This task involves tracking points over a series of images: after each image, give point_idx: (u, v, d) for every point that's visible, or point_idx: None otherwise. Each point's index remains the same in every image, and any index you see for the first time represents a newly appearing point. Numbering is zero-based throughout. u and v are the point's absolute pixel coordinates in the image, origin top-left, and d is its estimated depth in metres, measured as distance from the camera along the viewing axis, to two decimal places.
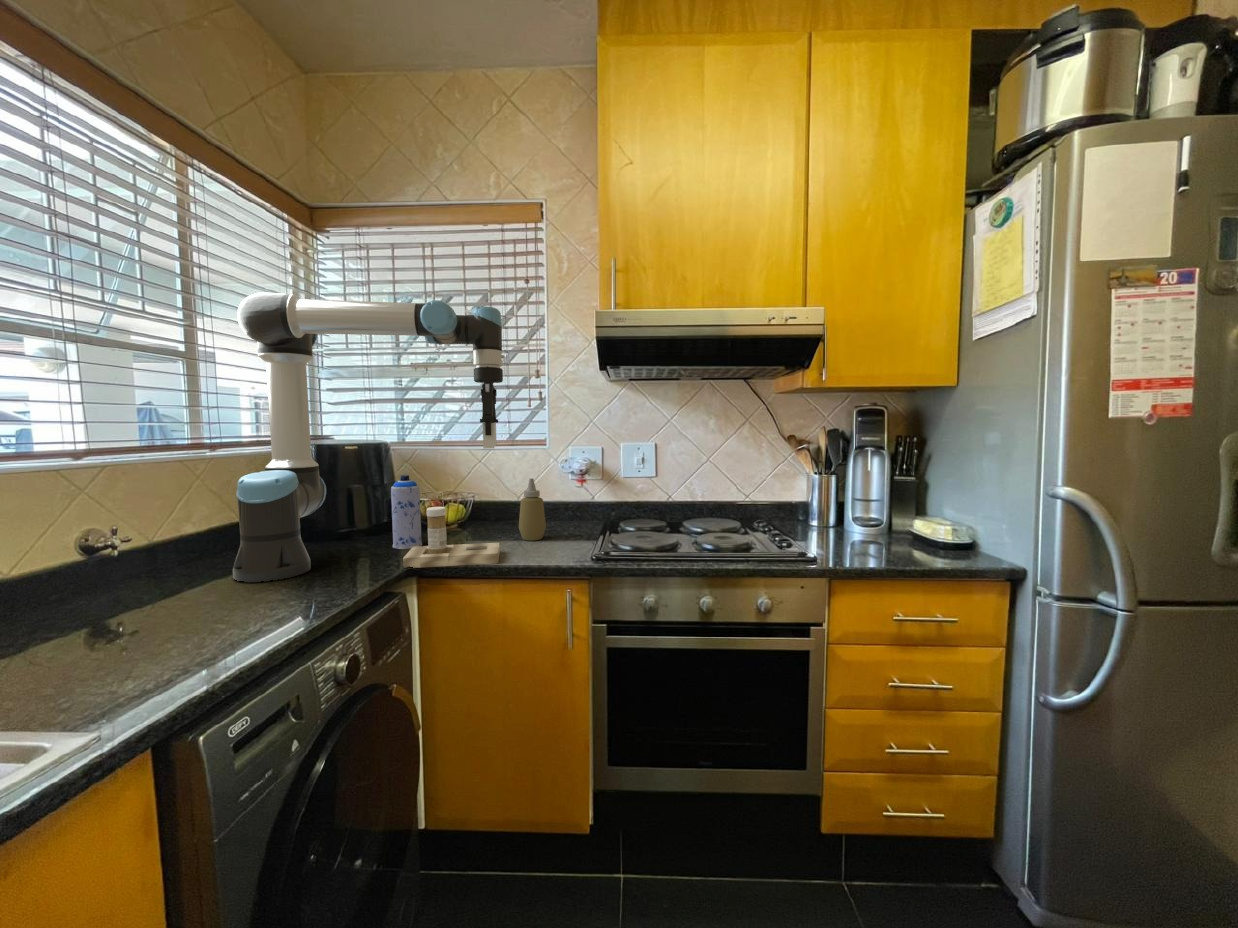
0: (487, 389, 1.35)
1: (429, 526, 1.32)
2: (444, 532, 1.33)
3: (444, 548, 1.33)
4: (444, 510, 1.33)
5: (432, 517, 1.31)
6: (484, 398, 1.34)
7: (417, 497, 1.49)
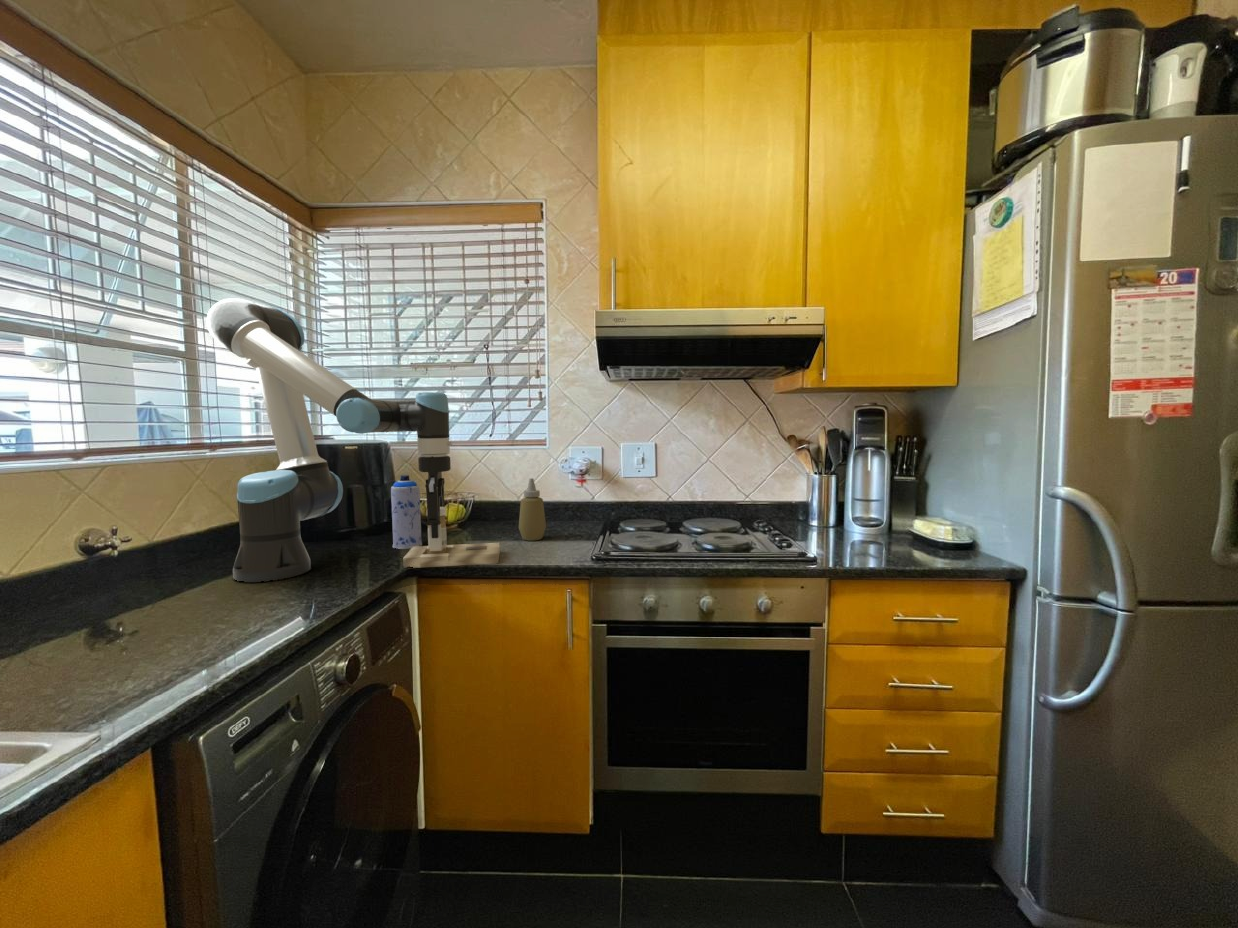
0: (431, 490, 1.26)
1: None
2: (444, 532, 1.33)
3: (444, 548, 1.33)
4: (444, 510, 1.33)
5: None
6: (428, 500, 1.27)
7: (417, 497, 1.49)
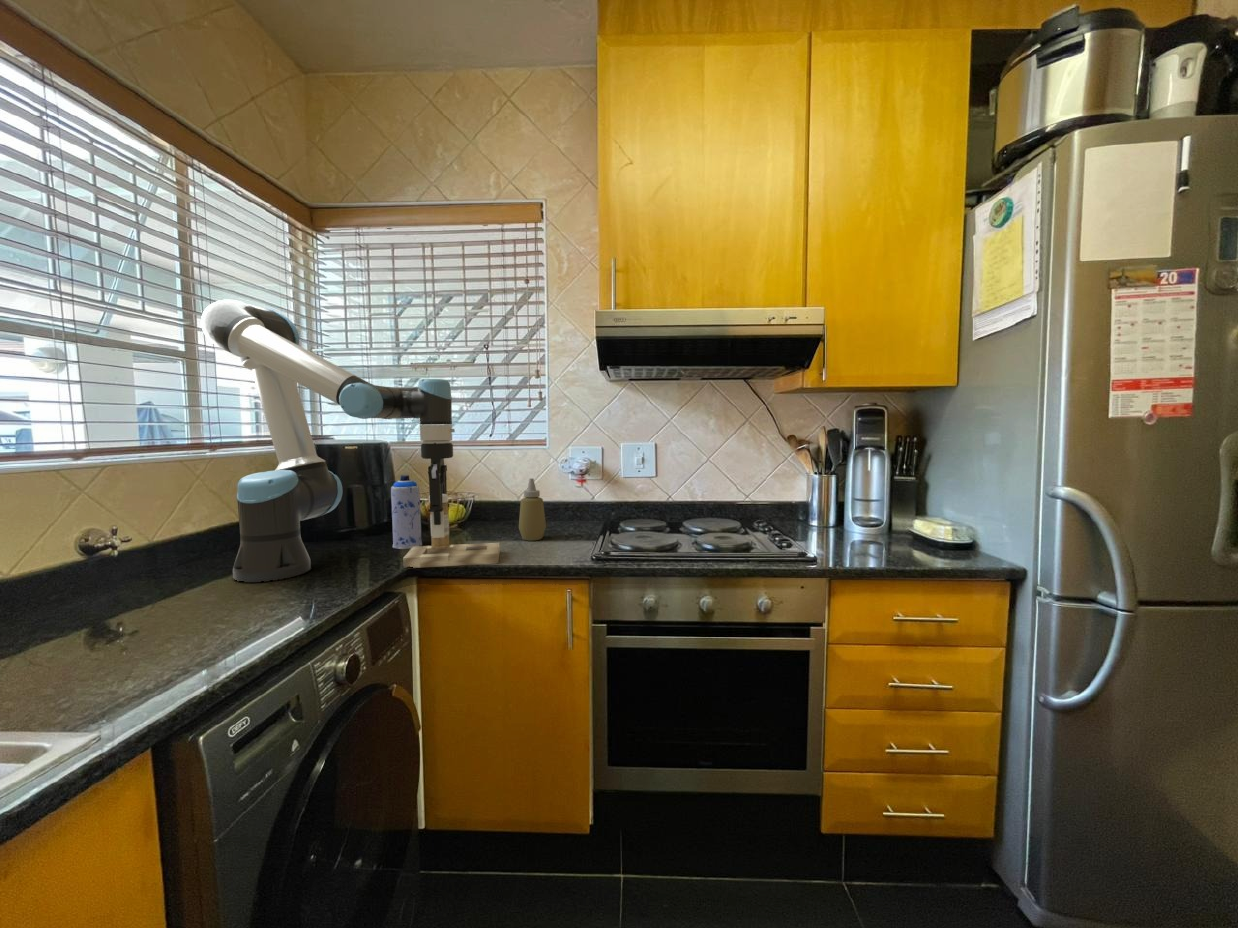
0: (434, 476, 1.26)
1: (431, 513, 1.32)
2: (446, 519, 1.33)
3: (447, 535, 1.33)
4: (446, 497, 1.32)
5: None
6: (431, 487, 1.27)
7: (417, 497, 1.49)
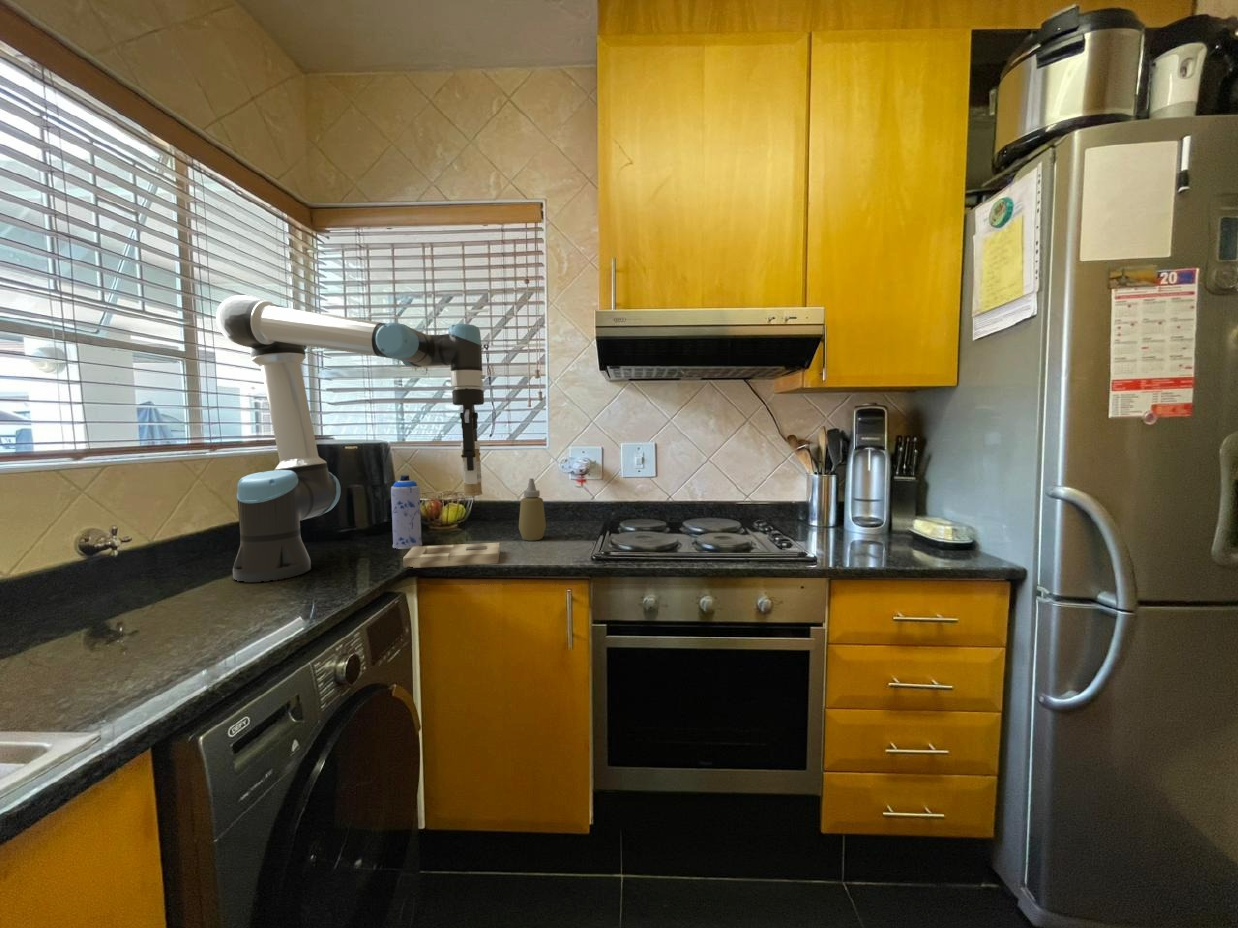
0: (467, 421, 1.26)
1: (464, 460, 1.31)
2: (479, 466, 1.33)
3: (479, 482, 1.33)
4: (478, 444, 1.32)
5: None
6: (464, 431, 1.27)
7: (417, 497, 1.49)
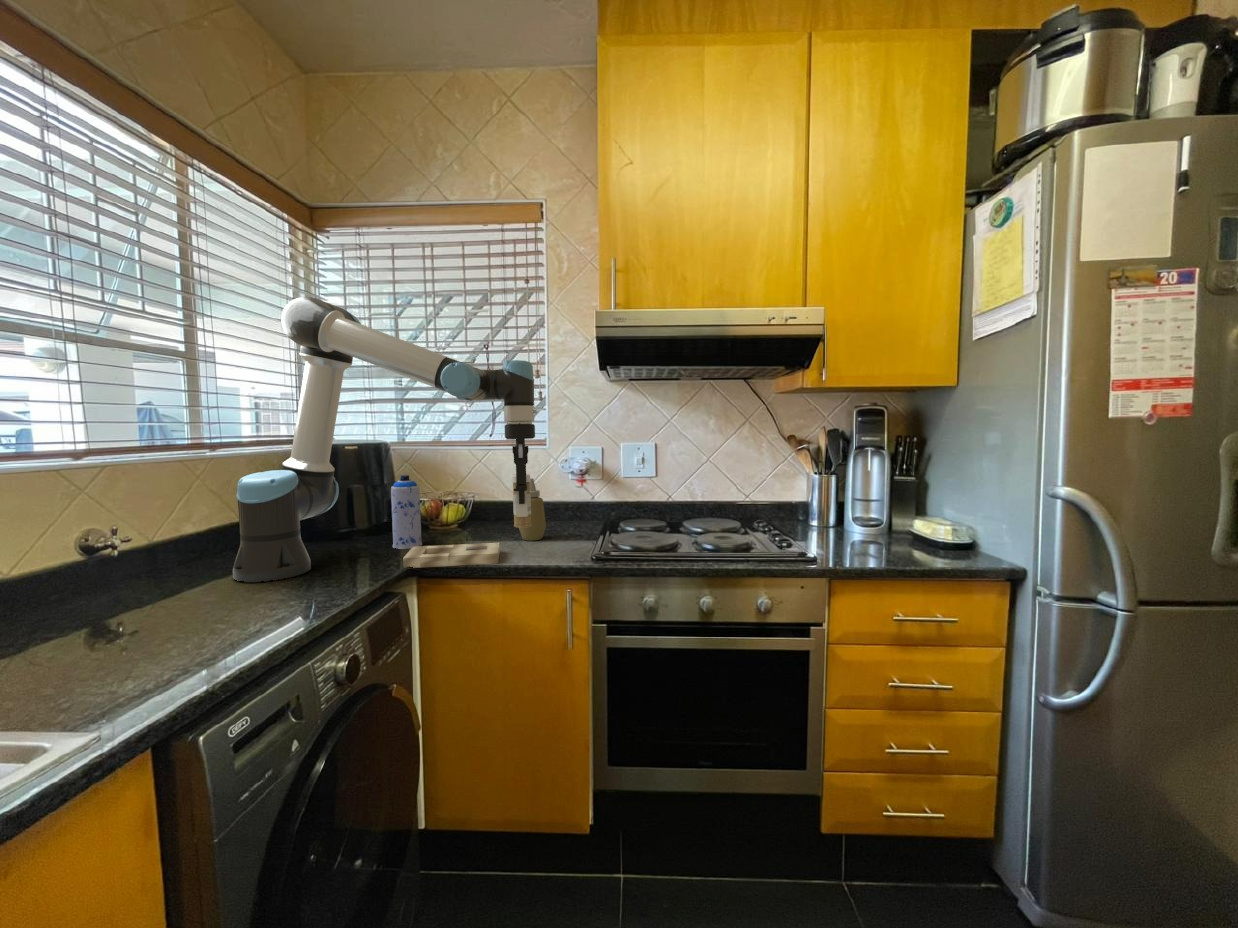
0: (520, 456, 1.29)
1: (515, 492, 1.34)
2: (529, 498, 1.35)
3: (529, 514, 1.35)
4: (529, 477, 1.35)
5: None
6: (517, 466, 1.29)
7: (417, 497, 1.49)
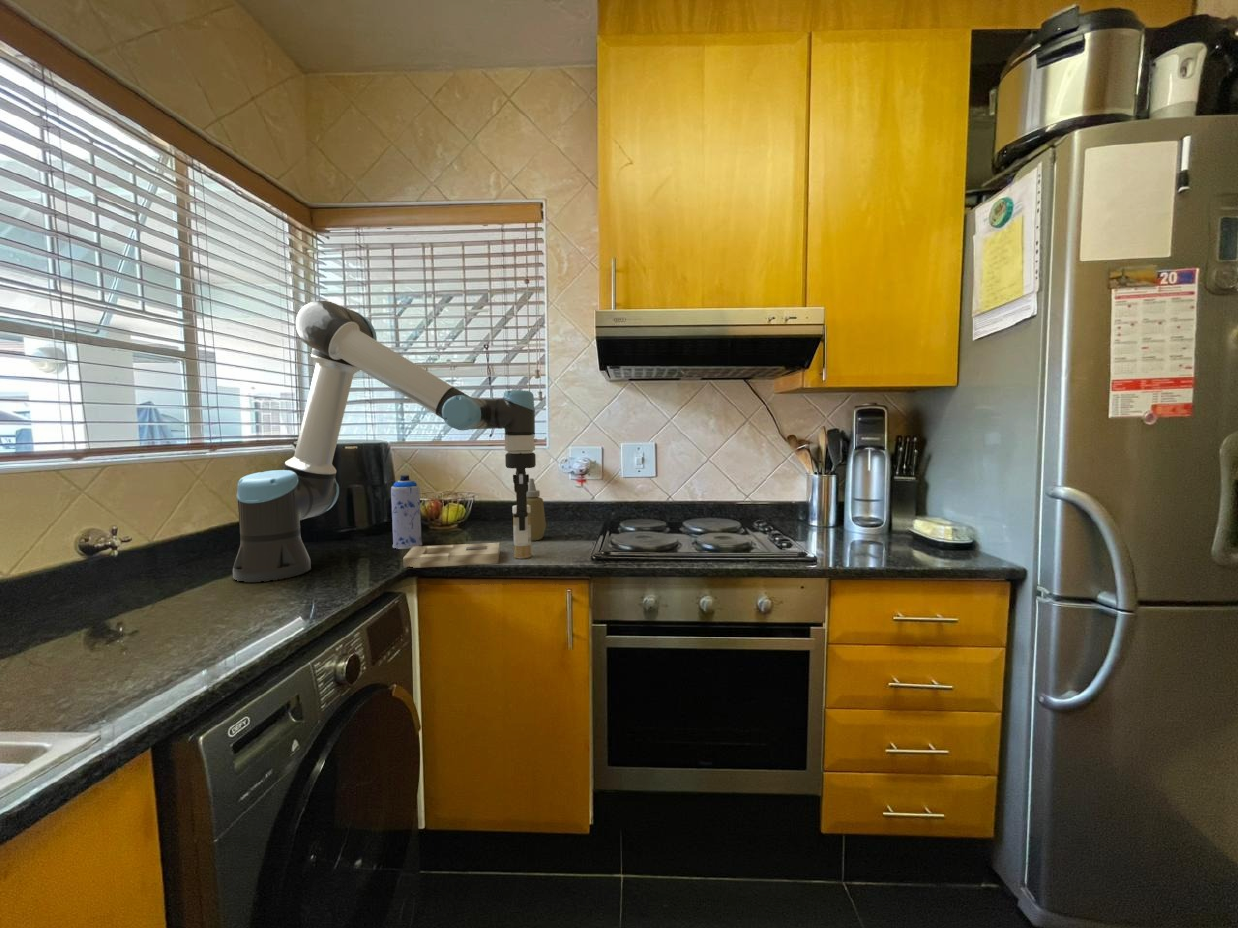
0: (521, 481, 1.29)
1: (515, 523, 1.34)
2: (529, 529, 1.36)
3: (529, 545, 1.36)
4: (529, 507, 1.35)
5: None
6: (518, 491, 1.28)
7: (417, 497, 1.49)
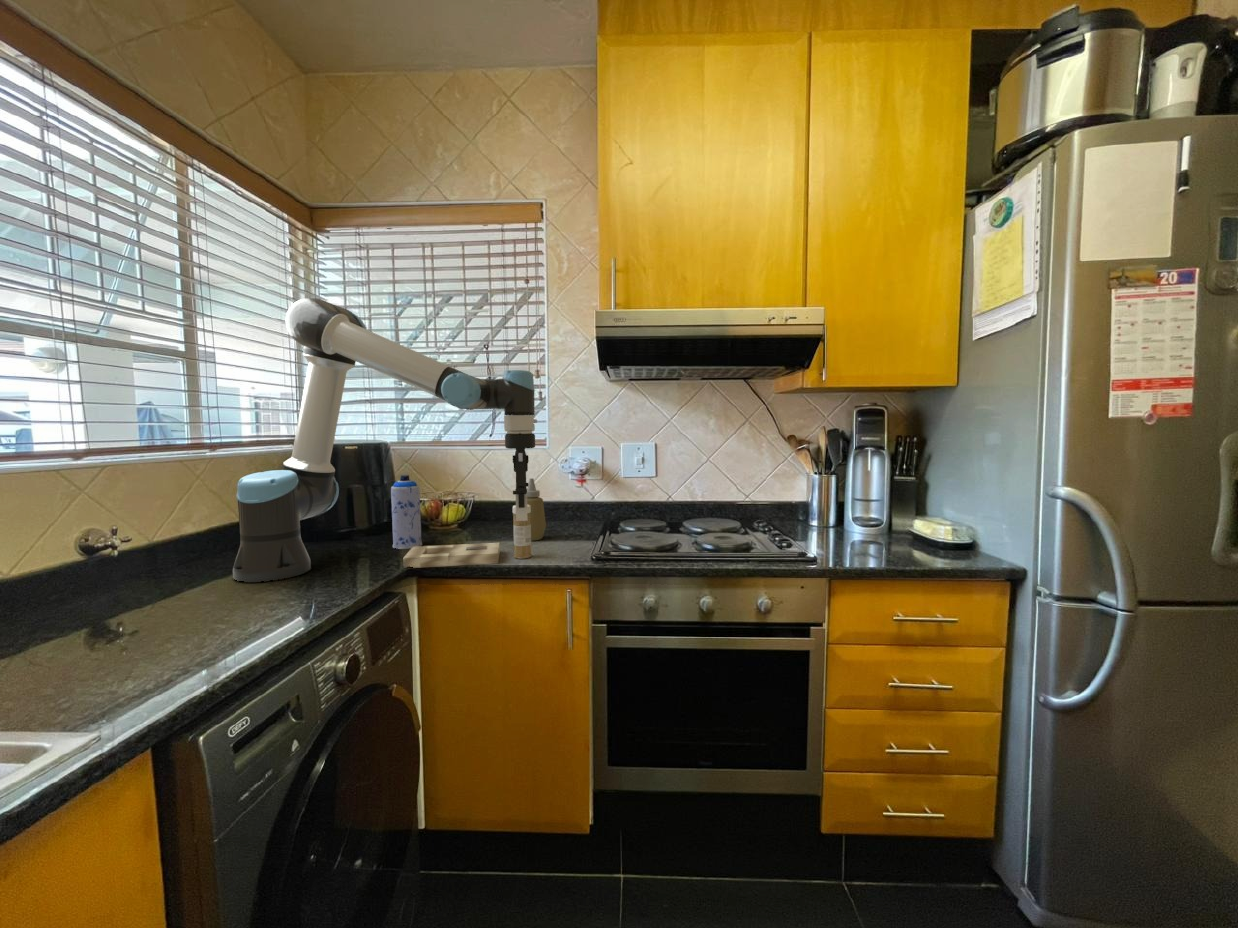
0: (520, 459, 1.28)
1: (515, 523, 1.34)
2: (529, 529, 1.36)
3: (529, 545, 1.36)
4: (529, 508, 1.35)
5: None
6: (517, 469, 1.27)
7: (417, 497, 1.49)
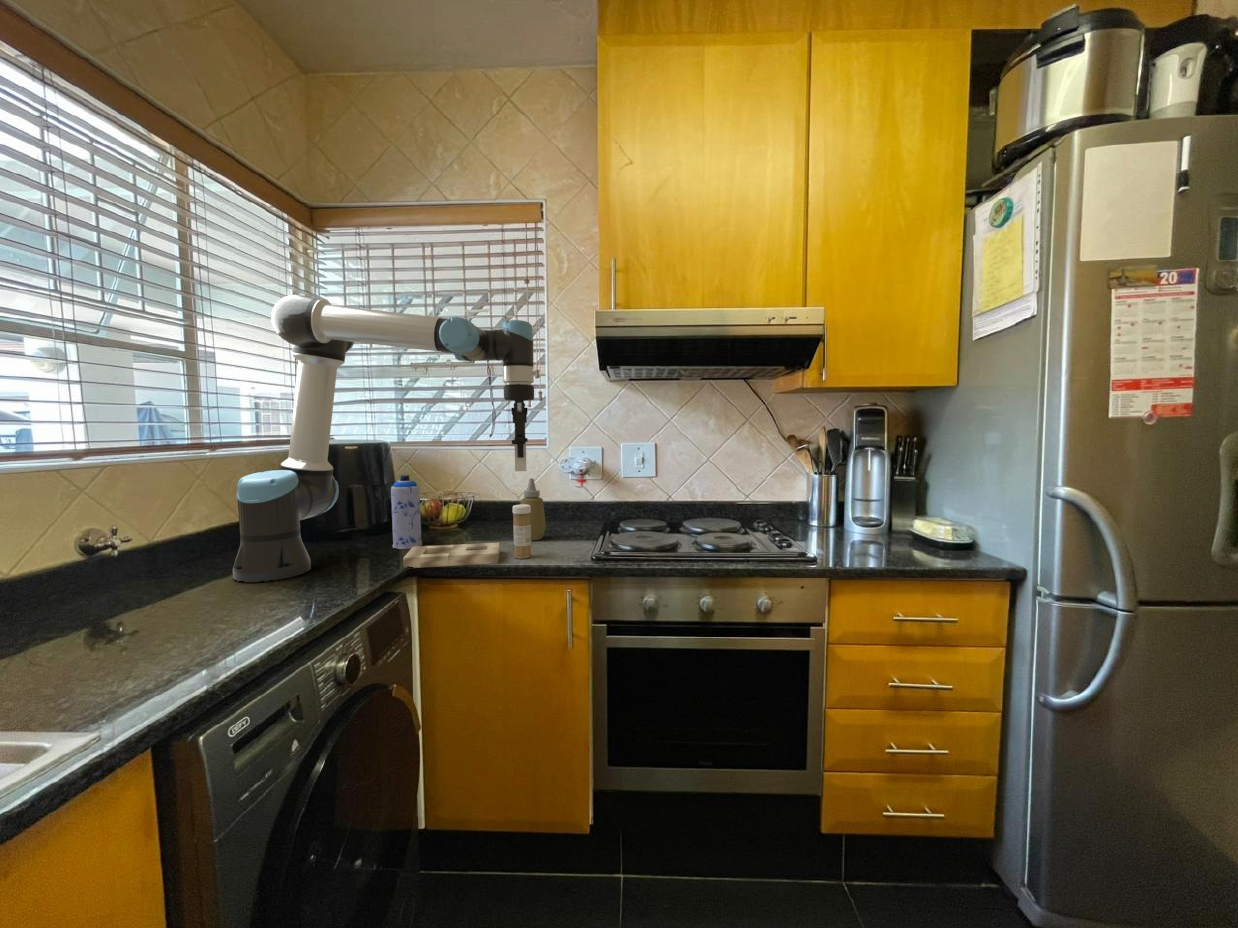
0: (519, 408, 1.27)
1: (515, 523, 1.34)
2: (529, 529, 1.36)
3: (529, 545, 1.36)
4: (529, 508, 1.35)
5: (519, 514, 1.34)
6: (516, 418, 1.26)
7: (417, 497, 1.49)
